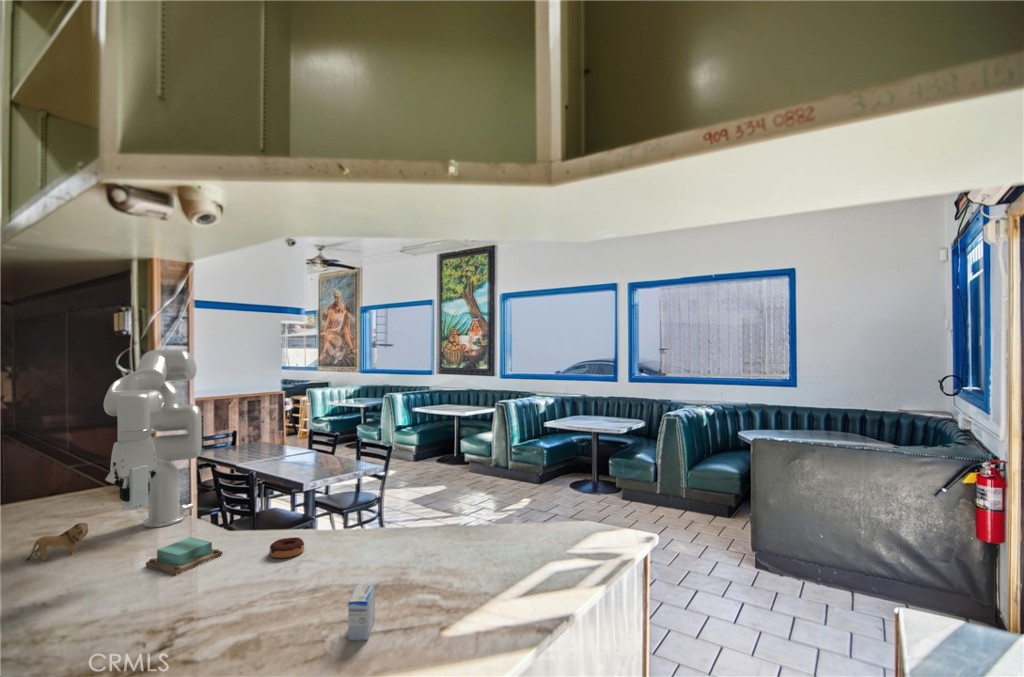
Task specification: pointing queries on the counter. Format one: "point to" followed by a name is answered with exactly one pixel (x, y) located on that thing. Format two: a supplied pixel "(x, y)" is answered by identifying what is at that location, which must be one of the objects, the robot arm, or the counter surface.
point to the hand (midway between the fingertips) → (135, 497)
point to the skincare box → (137, 489)
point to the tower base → (181, 568)
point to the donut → (286, 547)
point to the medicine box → (361, 612)
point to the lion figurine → (60, 540)
